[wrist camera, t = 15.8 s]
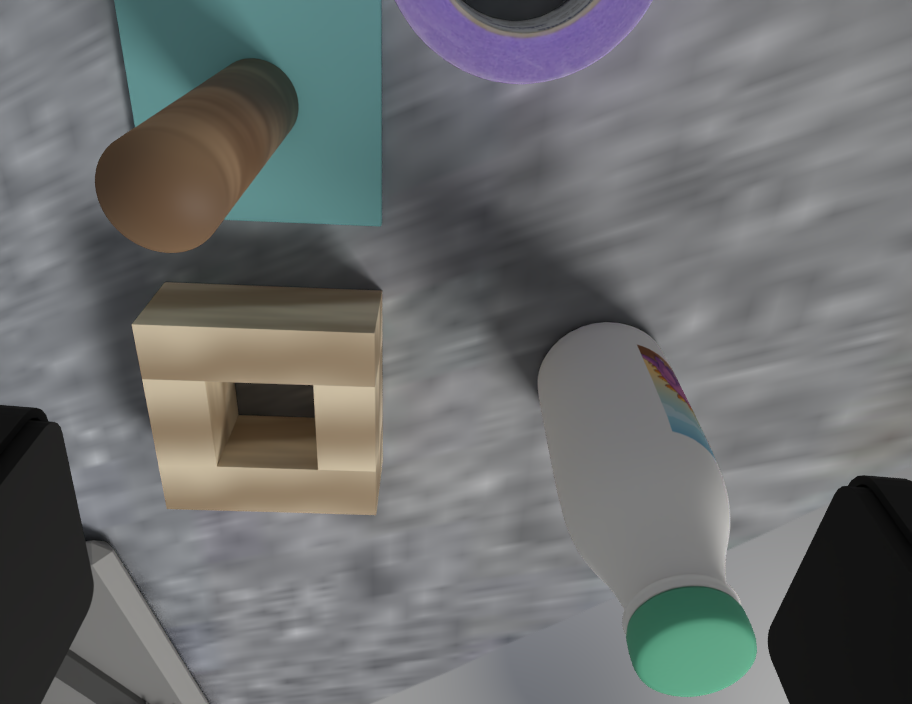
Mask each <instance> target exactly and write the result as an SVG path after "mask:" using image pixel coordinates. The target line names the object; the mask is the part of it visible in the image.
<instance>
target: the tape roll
mask: <svg viewBox="0 0 912 704" xmlns="http://www.w3.org/2000/svg"><path fill="white" fill-rule="evenodd" d="M652 1H653V0H568V1H567V2H565V3H564V4H563V5H561V6H560V7H558V8H557V9H555V10H553V11H552V12H550V13H548V14H546V15H543V16H541V17H538V18H534V19H530V20H524V21H509V20H502V19H497V18H492V17H489V16H487V15H484V14H482V13H480V12H478V11H476V10H475V9H473V8H471V7H470V6H469V5H467V4H466V3H465V2H464V1H462V0H395V2H396V4H397V6H398V7H399V9H400V11H401V13H402V14H403V16H404V17H405V19H406V20H407V22H408V23H409V25H410V26H411V28H412V29H413V30H414V31H415V33H416V34H417V35H418V36H419V37H420V38H421V40H422V41H423V42H424V43H425V44H426V45H427V46H428V47H429V48H431V49H432V50H433V51H434V52H435V53H437V54H438V55H439V56H441V57H442V58H443V59H445V60H446V61H448V62H449V63H451V64H452V65H454V66H456V67H457V68H459V69H461V70H463V71H465V72H467V73H470V74H472V75H475V76H477V77H480V78H484V79H487V80H491V81H496V82H502V83H511V84H530V83H539V82H545V81H550V80H554V79H558V78H561V77H565V76H567V75H570V74H572V73H575V72H577V71H579V70H581V69H584V68H586V67H588V66H589V65H591V64H593V63H594V62H596V61H597V60H599V59H600V58H602V57H603V56H605V55H606V54H607V53H609V52H610V51H611V50H612V49H613V48H614V47H615V46H617V45H618V44H619V43H620V42H621V41H622V40H623V39H624V38H625V37H626V36H627V35H628V34H629V33H630V32H631V30H632V29H633V28H634V27H635V26H636V25H637V23H638V22H639V21H640V20H641V18H642V17H643V15H644V14H645V12H646V11H647V9H648V8H649V6H650V4H651V2H652Z"/></svg>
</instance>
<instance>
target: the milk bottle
mask: <svg viewBox="0 0 912 704" xmlns="http://www.w3.org/2000/svg"><path fill="white" fill-rule="evenodd" d="M538 394H539V401H540V407H541V412H542V417H543V423H544V428H545V433H546V438H547V444H548V449H549V454H550V459H551V464H552V469H553V474H554V478H555V483H556V488H557V493H558V497H559V501H560V505H561V509H562V513H563V517H564V520H565V523H566V526H567V529H568V531H569V534H570V536H571V539H572V541H573V543H574V544H575V546H576V548H577V550H578V552H579V553H580V555H581V556H582V558H583V559H584V561H585V562H586V563H587V565H588V566H589V567H590V568H591V569H592V570H593V571H594V573H595V574H596V575H597V576H598V577H599V578H600V579H601V580H602V581H603V582H604V583H605V584H606V585H607V586H608V587H609V588H610V589H611V590H612V592H613V593H614V594H615V595H616V597H617V598H618V600H619V602H620V603H621V605H622V606H623V608H624V613H623V618H622V624H623V630H624V632H625V634H626V639H627V645H628V650H629V655H630V658H631V661H632V664H633V667H634V669H635V671H636V673H637V675H638V676H639V678H640V679H641V680H642V681H643V682H644V683H645V684H646V685H647V686H648V687H650V688H652V689H654V690H656V691H658V692H661V693H664V694H668V695H673V696H681V697H692V696H700V695H706V694H710V693H714V692H717V691H719V690H722V689H724V688H726V687H728V686H730V685H731V684H733V683H735V682H736V681H738V680H739V679H740V678H741V677H743V676H744V675H745V674H746V673H747V671H748V670H749V669H750V668H751V666H752V664H753V662H754V660H755V657H756V653H757V646H756V638H755V634H754V632H753V629H752V626H751V624H750V622H749V619H748V617H747V615H746V613H745V611H744V609H743V608H742V606H741V602H740V599H739V597H738V595H737V593H736V592H735V590H734V589H733V588H732V587H731V586H729V585H728V584H727V583H726V573H725V560H726V551H727V546H728V540H729V532H730V506H729V499H728V494H727V490H726V486H725V483H724V479H723V476H722V474H721V471H720V469H719V467H718V464H717V462H716V459H715V457H714V455H713V452H712V450H711V448H710V446H709V443H708V441H707V439H706V437H705V435H704V433H703V431H702V429H701V427H700V425H699V423H698V421H697V419H696V416H695V414H694V412H693V410H692V408H691V406H690V404H689V402H688V400H687V398H686V396H685V394H684V392H683V390H682V388H681V386H680V384H679V382H678V380H677V378H676V376H675V374H674V372H673V370H672V368H671V366H670V364H669V362H668V360H667V358H666V357H665V355H664V353H663V352H662V350H661V348H660V347H659V345H658V344H657V343H656V342H655V340H654V339H653V338H651V337H650V336H649V335H648V334H646V333H645V332H643V331H641V330H639V329H637V328H635V327H632V326H629V325H625V324H621V323H612V322H602V323H593V324H589V325H586V326H582V327H580V328H578V329H576V330H574V331H571V332H569V333H568V334H567V335H565V336H564V337H562V338H561V339H560V340H559V341H558V342H557V343H556V344H555V345H554V346H553V347H552V348H551V349H550V351H549V352H548V353H547V355H546V356H545V358H544V360H543V362H542V364H541V367H540V370H539V374H538Z"/></svg>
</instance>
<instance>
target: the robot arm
mask: <svg viewBox="0 0 912 704" xmlns="http://www.w3.org/2000/svg"><path fill="white" fill-rule="evenodd" d="M93 592H94V581H93V575H92V570H91V566H90V561H89V556H88V552H87V547H86V542H85V537H84V533H83V528H82V523H81V518H80V514H79V509H78V504H77V500H76V495H75V490H74V485H73V481H72V476H71V471H70V466H69V462H68V457H67V452H66V448H65V443H64V438H63V433H62V430H61V427H60V426H59V425H58V423H55V422H48V419H47V416H46V414H45V413H44V412H43V411H42V410H41V409H38V408H31V407H19V406H6V405H0V704H41V703H42V701H43V699H44V697H45V695H46V693H47V691H48V689H49V687H50V685H51V683H52V681H53V679H54V678H55V676H56V674H57V672H58V670H59V668H60V666H61V664H62V662H63V660H64V658H65V656H66V654H67V652H68V650H69V648H70V646H71V644H72V642H73V640H74V639H75V637H76V635H77V633H78V631H79V629H80V627H81V625H82V623H83V621H84V619H85V617H86V615H87V613H88V611H89V608H90V605H91V602H92V598H93ZM768 649H769V654H770V657H771V660H772V663H773V665H774V667H775V670H776V672H777V674H778V677H779V679H780V682H781V684H782V687H783V689H784V691H785V694H786V696H787V699H788V701H789V703H790V704H912V481H910V480H907V479H901V478H889V477H877V476H865V475H863V476H857V477H856V478H854V479H853V480H851V482H850V483H849V485H848V486H842V487H841V488H839V489H838V490H837V492H836V493H835V494H834V497H833V499H832V501H831V503H830V505H829V507H828V509H827V511H826V513H825V515H824V517H823V519H822V521H821V523H820V525H819V528H818V529H817V532H816V534H815V536H814V538H813V540H812V542H811V544H810V546H809V548H808V550H807V552H806V555H805V556H804V558H803V560H802V562H801V564H800V567H799V569H798V571H797V573H796V575H795V577H794V579H793V581H792V583H791V585H790V587H789V589H788V591H787V593H786V595H785V598H784V599H783V602H782V603H781V606H780V608H779V610H778V612H777V614H776V616H775V618H774V620H773V622H772V624H771V626H770V629H769V633H768Z"/></svg>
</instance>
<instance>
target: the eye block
mask: <svg viewBox="0 0 912 704" xmlns="http://www.w3.org/2000/svg"><path fill="white" fill-rule="evenodd" d="M132 329H133V334H134V339H135V344H136V350H137V355H138V360H139V365H140V371H141V376H142V381H143V386H144V392H145V397H146V402H147V407H148V412H149V418H150V423H151V428H152V433H153V439H154V444H155V449H156V454H157V459H158V465H159V470H160V475H161V480H162V486H163V491H164V496H165V501H166V506H167V509H190V510H223V511H257V512H291V513H325V514H359V515H376V511H377V503H378V495H379V486H380V478H381V470H382V462H383V425H382V291H379V290H354V289H328V288H302V287H276V286H251V285H225V284H199V283H173V282H165V283H164V284H163V285H162V286H161V288H160V289H159V290H158V292H157V293H156V294H155V295H154V297H153V298H152V299H151V300H150V302H149V303H148V304H147V306H146V307H145V308H144V309H143V311H142V312H141V313H140V314H139V316H138V317H137V318H136V319H135V321H134V322H133V323H132ZM235 382H238V383H267V384H296V385H313V388H314V406H315V418H309V417H279V416H249V415H239V413H238V405H237V397H236V388H235Z"/></svg>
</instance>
